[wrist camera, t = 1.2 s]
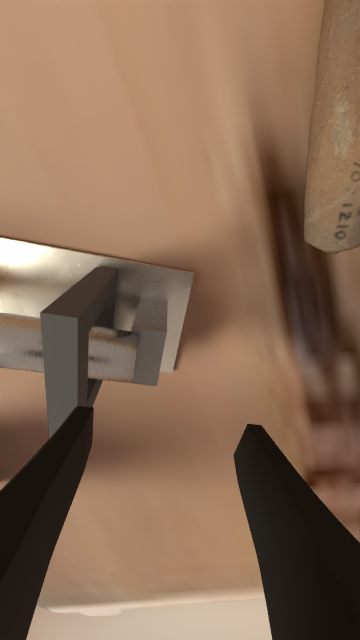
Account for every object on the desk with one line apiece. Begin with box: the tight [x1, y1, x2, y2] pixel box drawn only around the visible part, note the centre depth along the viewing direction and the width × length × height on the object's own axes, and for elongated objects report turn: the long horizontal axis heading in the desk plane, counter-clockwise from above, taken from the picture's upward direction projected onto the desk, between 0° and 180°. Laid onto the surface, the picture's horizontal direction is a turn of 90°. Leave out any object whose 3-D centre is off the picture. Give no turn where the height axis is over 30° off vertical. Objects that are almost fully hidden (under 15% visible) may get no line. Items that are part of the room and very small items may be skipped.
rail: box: [0, 237, 194, 386], centre depth 14 cm, size 22×9×8 cm, turn 79°
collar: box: [40, 267, 117, 439], centre depth 14 cm, size 1×8×8 cm, turn 169°
